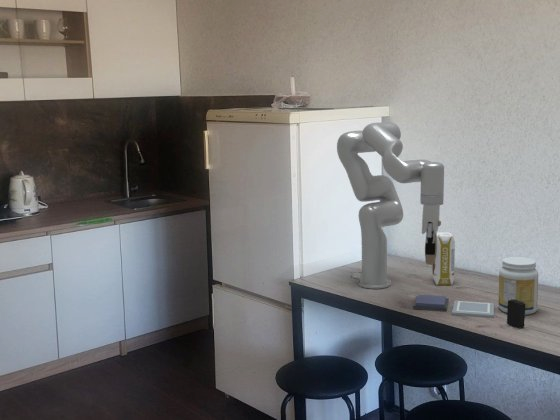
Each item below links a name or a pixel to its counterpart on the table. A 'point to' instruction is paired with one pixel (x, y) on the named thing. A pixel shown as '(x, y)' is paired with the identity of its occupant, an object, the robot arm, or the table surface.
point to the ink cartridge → (516, 313)
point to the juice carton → (444, 259)
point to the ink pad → (431, 302)
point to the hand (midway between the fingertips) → (430, 252)
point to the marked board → (473, 309)
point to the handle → (431, 258)
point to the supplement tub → (518, 283)
